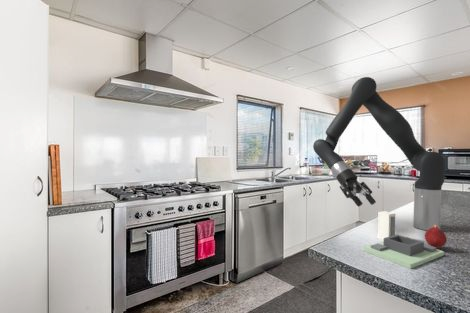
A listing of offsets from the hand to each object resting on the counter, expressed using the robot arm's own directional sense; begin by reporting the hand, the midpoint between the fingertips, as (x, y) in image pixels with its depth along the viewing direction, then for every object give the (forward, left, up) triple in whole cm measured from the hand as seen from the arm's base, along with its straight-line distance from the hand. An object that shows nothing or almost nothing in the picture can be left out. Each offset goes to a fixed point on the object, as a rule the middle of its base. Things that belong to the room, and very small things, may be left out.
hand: (367, 204), depth 99 cm
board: (+8, +18, -12) cm, 23 cm away
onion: (-6, +21, -12) cm, 25 cm away
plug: (0, +8, -12) cm, 14 cm away
